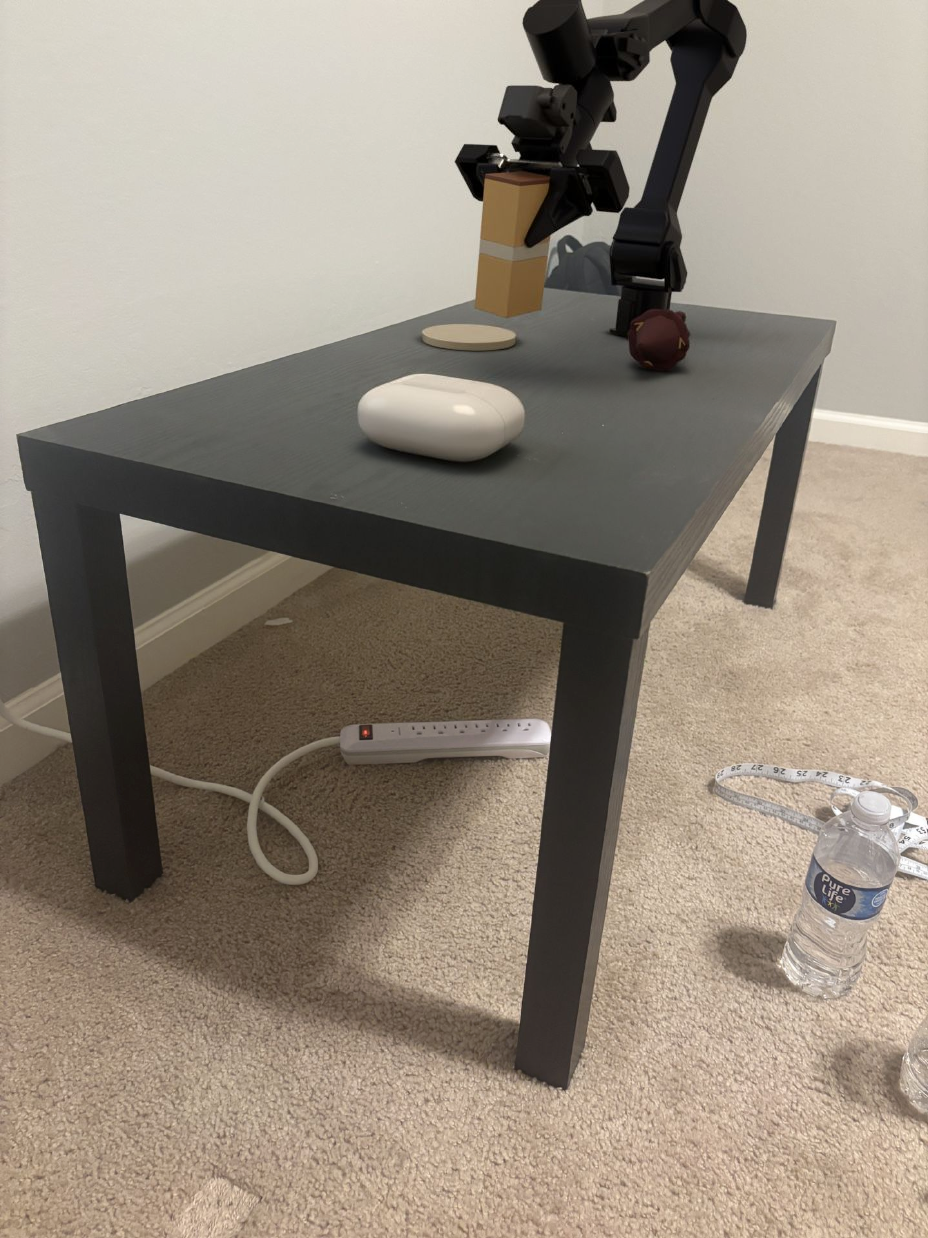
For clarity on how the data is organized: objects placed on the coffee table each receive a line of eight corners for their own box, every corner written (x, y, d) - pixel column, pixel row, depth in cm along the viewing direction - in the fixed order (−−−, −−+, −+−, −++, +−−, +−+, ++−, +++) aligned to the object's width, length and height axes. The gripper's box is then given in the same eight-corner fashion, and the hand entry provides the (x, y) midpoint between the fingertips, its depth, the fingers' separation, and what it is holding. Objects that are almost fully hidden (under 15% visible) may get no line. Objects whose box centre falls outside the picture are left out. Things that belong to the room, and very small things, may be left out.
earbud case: (405, 421, 83) (405, 361, 80) (535, 445, 78) (540, 382, 75) (342, 450, 75) (339, 384, 72) (482, 478, 70) (485, 409, 67)
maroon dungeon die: (685, 325, 95) (715, 318, 107) (622, 300, 97) (658, 295, 109) (659, 388, 98) (690, 373, 111) (598, 362, 100) (636, 350, 113)
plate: (482, 328, 123) (483, 321, 123) (534, 346, 114) (534, 337, 114) (405, 335, 118) (405, 327, 117) (453, 354, 109) (453, 345, 108)
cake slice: (509, 300, 100) (523, 170, 93) (541, 309, 98) (557, 177, 91) (474, 308, 96) (485, 173, 89) (506, 318, 94) (520, 181, 87)
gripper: (468, 55, 93) (398, 176, 90) (629, 51, 83) (557, 187, 81) (507, 142, 102) (445, 254, 100) (657, 148, 93) (592, 272, 90)
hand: (504, 242), depth 92 cm, fingers closed on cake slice, 5 cm apart
